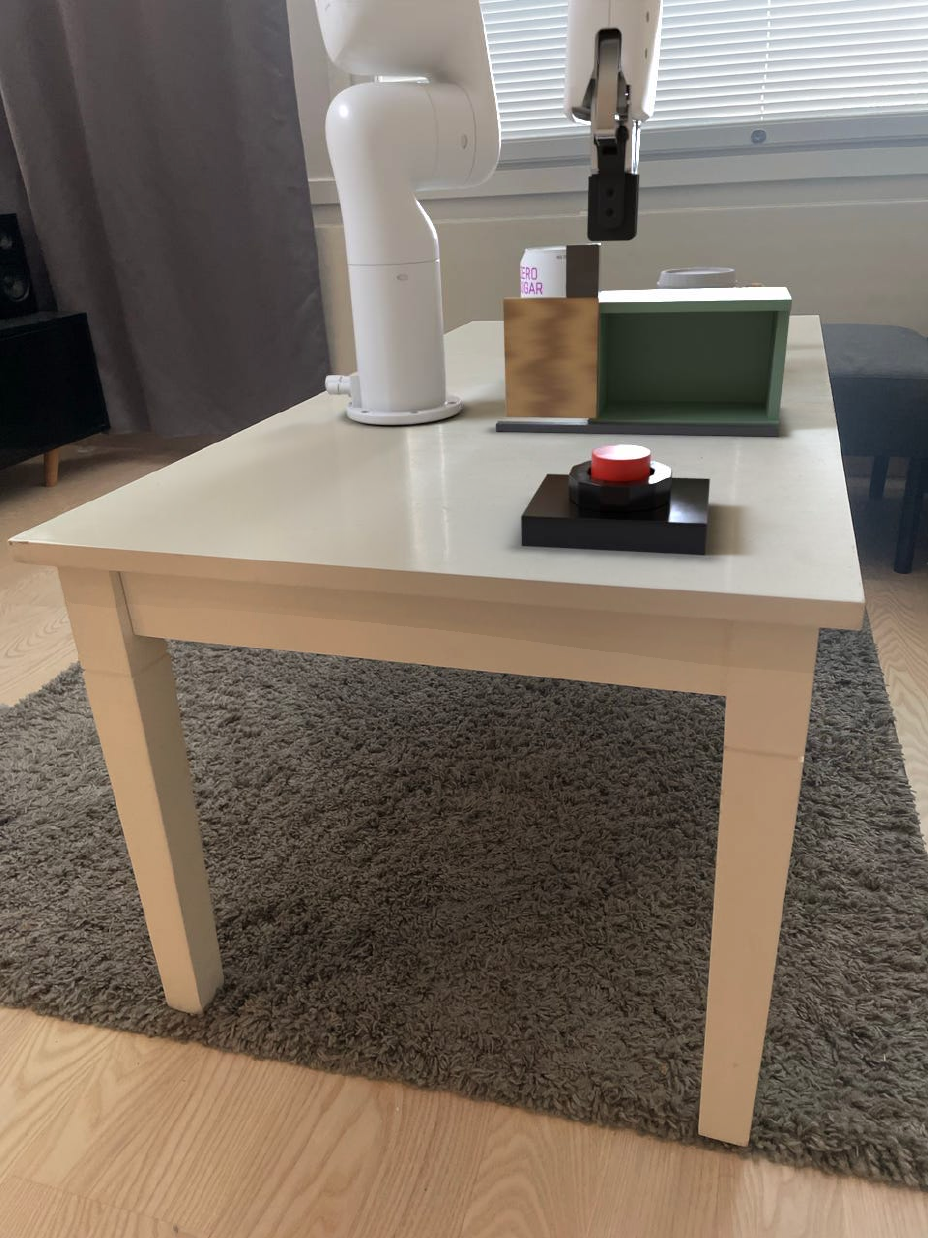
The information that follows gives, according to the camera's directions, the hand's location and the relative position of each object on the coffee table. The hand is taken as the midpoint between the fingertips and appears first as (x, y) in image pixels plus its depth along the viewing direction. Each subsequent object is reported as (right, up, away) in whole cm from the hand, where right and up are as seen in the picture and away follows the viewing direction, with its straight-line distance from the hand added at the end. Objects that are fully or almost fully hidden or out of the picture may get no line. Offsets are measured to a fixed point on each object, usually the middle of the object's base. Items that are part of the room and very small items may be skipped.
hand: (612, 239), depth 62 cm
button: (+1, -16, 0) cm, 16 cm away
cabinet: (+7, -6, +30) cm, 32 cm away
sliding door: (-2, -6, +27) cm, 28 cm away
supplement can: (+2, +7, +58) cm, 58 cm away
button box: (+1, -19, +2) cm, 20 cm away
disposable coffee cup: (+19, +5, +53) cm, 56 cm away
